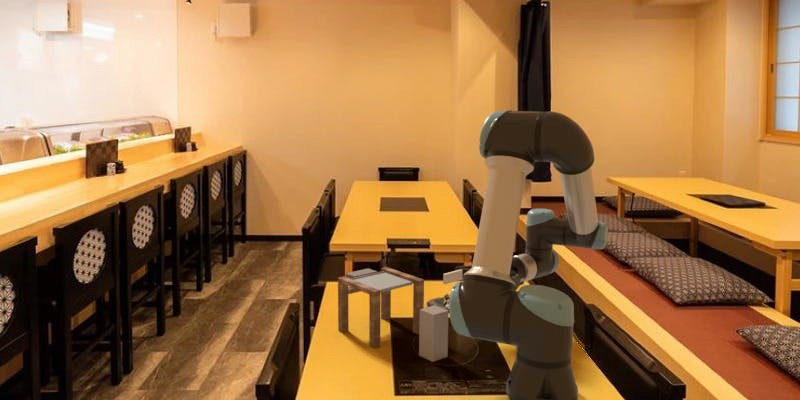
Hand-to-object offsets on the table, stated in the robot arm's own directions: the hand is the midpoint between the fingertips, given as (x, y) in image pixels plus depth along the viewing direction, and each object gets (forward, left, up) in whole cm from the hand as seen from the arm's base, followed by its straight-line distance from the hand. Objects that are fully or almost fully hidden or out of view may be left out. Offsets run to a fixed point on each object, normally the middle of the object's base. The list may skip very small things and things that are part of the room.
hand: (462, 285), depth 160 cm
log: (+25, -18, -17) cm, 35 cm away
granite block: (0, +10, -16) cm, 19 cm away
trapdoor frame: (+21, +10, -16) cm, 28 cm away
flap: (+23, +10, -3) cm, 25 cm away
